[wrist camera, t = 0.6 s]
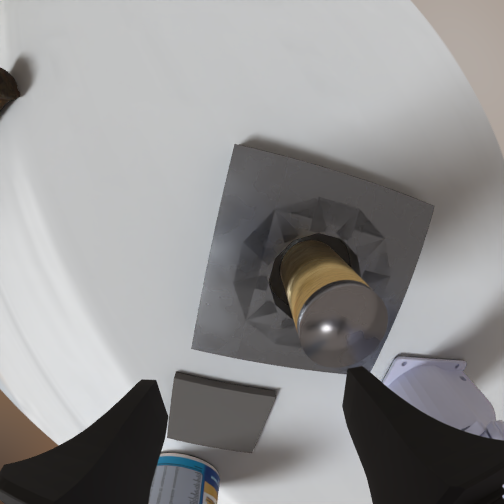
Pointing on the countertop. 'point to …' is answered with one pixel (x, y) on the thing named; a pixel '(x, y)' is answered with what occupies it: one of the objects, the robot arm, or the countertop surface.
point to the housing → (281, 235)
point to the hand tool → (7, 88)
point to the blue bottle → (184, 481)
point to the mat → (217, 413)
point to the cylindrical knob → (331, 306)
